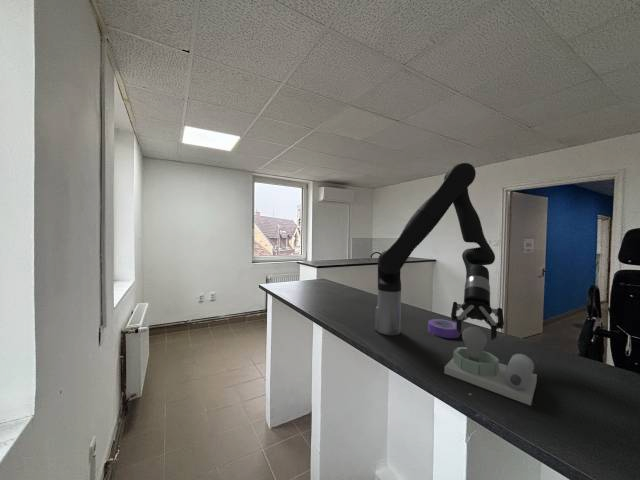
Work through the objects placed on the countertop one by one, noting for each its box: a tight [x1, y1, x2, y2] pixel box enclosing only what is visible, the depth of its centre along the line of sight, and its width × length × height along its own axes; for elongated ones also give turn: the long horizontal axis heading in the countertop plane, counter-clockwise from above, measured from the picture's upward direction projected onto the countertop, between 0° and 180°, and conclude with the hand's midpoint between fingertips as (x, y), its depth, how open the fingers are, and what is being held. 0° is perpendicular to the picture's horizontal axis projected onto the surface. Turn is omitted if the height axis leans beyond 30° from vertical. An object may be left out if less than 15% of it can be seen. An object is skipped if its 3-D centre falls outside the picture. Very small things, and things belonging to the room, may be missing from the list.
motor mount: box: [443, 346, 538, 407], centre depth 70 cm, size 19×14×7 cm
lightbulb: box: [461, 326, 488, 363], centre depth 73 cm, size 6×6×11 cm
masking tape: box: [427, 318, 461, 339], centre depth 103 cm, size 12×12×4 cm
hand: (475, 335), depth 78 cm, fingers open, 8 cm apart
